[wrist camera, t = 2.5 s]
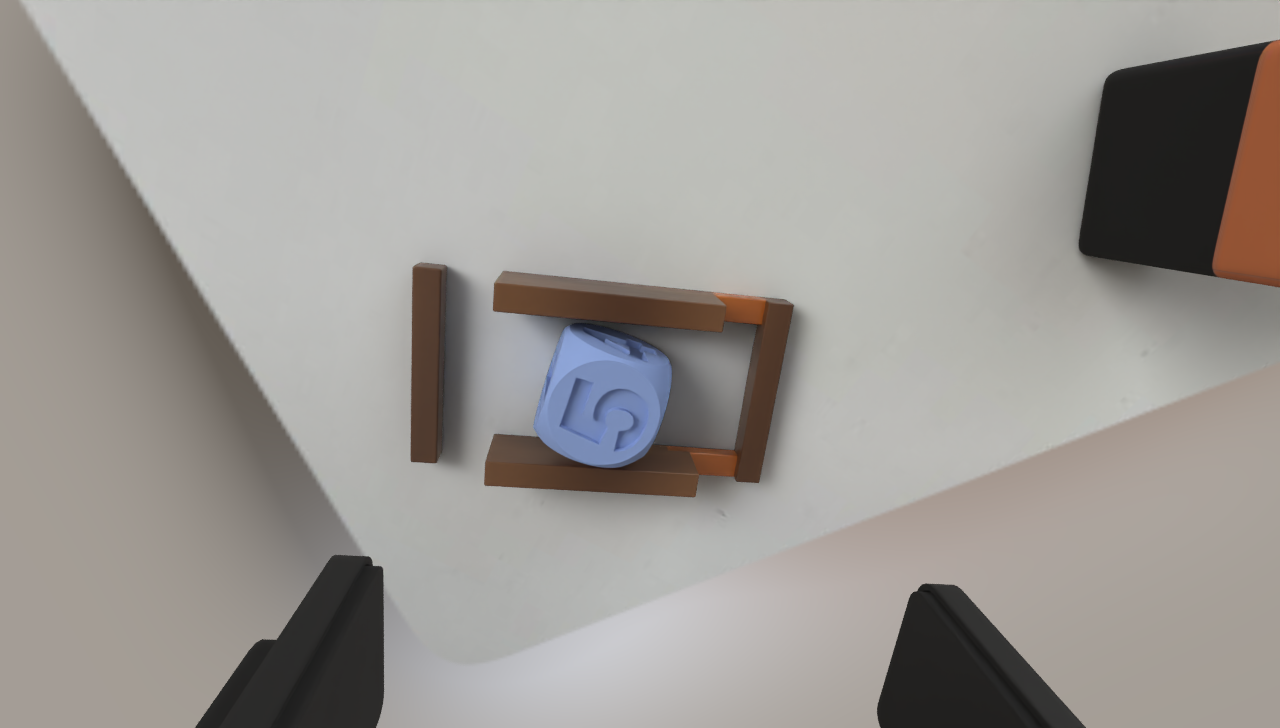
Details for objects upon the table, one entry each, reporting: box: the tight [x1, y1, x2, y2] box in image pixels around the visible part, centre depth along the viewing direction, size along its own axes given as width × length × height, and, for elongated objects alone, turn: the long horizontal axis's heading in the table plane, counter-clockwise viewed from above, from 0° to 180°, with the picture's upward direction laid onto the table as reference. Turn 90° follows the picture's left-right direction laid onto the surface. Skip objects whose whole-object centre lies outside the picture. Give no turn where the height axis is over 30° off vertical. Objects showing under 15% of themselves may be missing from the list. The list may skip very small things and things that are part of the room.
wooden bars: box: [411, 263, 794, 497], centre depth 23 cm, size 14×8×2 cm, turn 83°
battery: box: [1079, 40, 1280, 287], centre depth 19 cm, size 4×7×10 cm, turn 4°
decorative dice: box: [533, 323, 672, 468], centre depth 22 cm, size 4×4×4 cm
